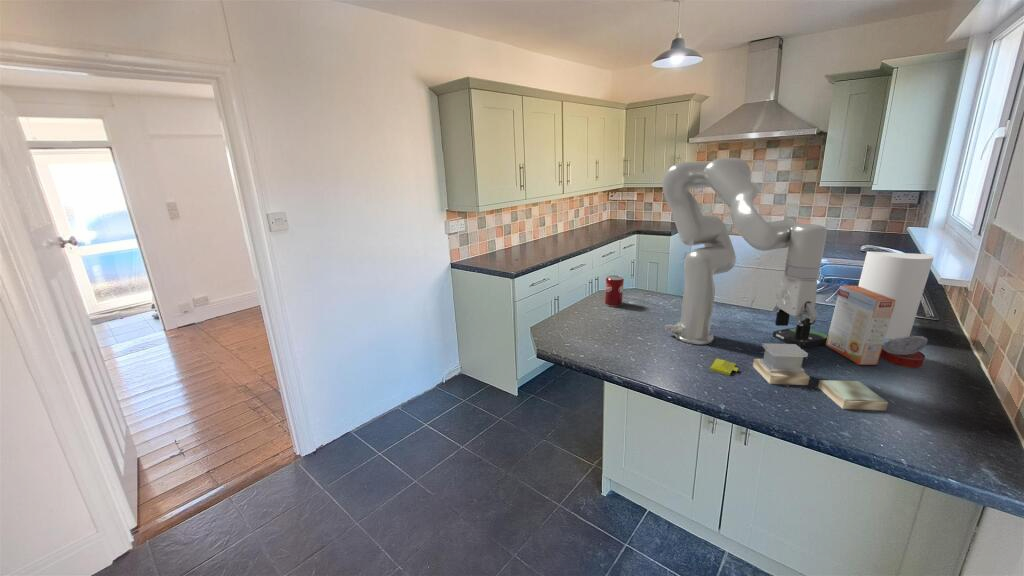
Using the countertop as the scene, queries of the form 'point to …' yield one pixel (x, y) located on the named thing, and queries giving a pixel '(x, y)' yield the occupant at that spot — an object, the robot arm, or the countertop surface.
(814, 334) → the disk drive
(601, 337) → the countertop surface
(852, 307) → the cracker box
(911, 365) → the canned food
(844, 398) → the stand
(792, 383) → the stand
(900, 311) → the cylinder
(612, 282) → the soda can
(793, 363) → the housing
